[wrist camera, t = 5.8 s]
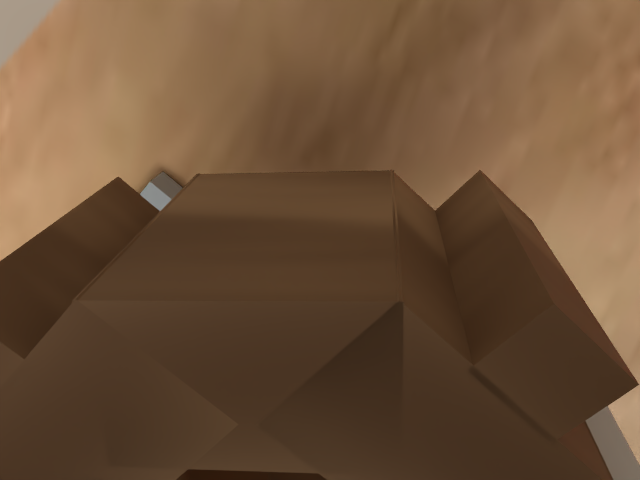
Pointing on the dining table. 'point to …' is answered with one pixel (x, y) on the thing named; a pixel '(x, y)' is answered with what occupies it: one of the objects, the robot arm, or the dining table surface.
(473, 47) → the dining table surface
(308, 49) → the dining table surface
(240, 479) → the walnut gear
